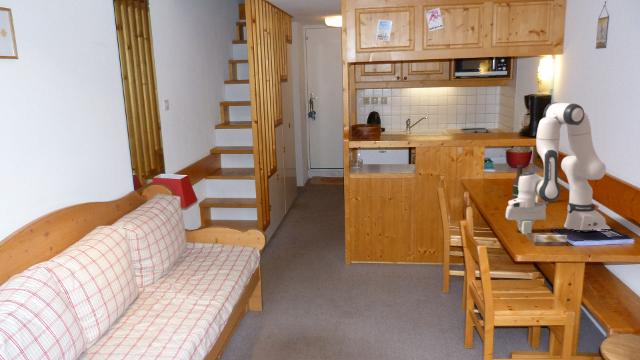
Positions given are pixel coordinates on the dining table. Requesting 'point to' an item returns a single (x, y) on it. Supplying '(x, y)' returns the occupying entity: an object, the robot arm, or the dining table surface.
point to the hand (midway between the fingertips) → (525, 227)
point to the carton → (525, 226)
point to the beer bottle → (516, 180)
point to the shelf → (547, 239)
